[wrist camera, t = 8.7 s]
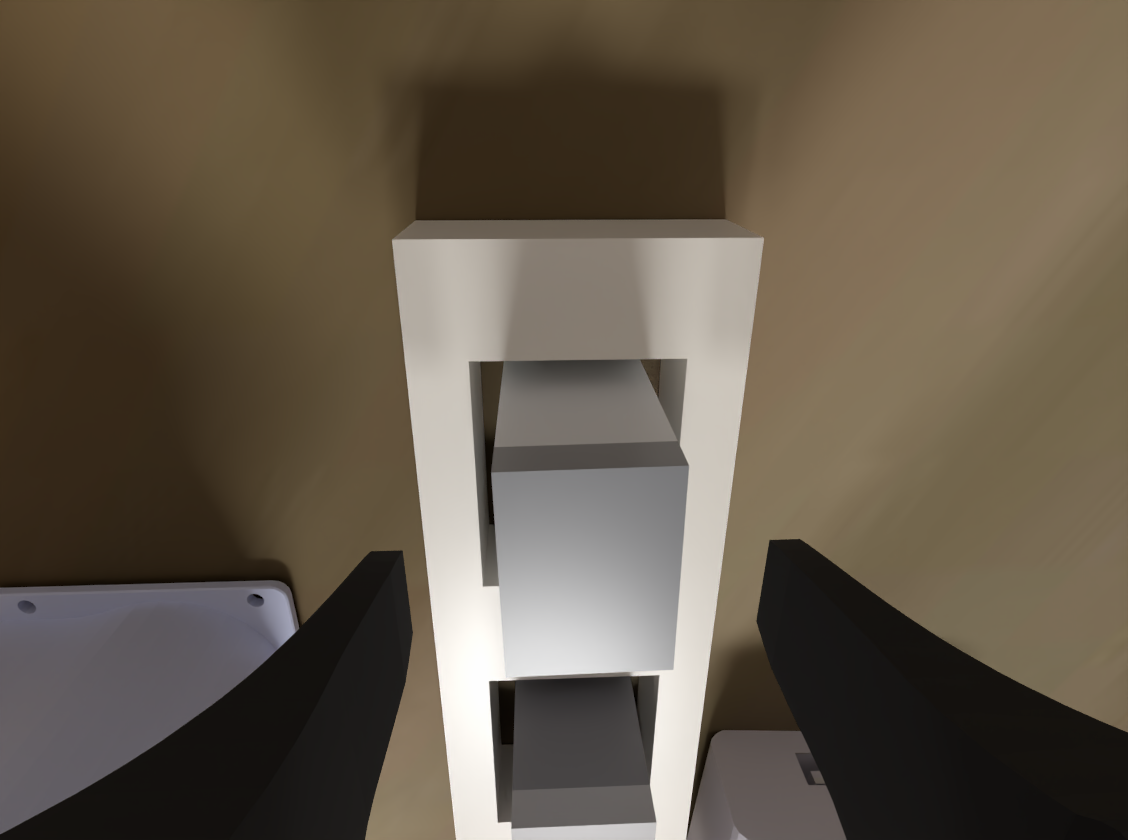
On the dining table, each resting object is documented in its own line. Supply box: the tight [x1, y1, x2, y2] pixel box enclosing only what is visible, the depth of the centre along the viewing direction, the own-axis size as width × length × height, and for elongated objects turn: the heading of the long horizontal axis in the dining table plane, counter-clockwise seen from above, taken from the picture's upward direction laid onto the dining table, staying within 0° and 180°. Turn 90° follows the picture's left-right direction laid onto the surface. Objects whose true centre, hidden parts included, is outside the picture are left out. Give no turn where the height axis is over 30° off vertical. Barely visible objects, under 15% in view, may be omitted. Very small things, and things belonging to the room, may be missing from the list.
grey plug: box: [491, 359, 689, 678], centre depth 16 cm, size 4×5×7 cm
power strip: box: [392, 219, 764, 840], centre depth 19 cm, size 8×22×4 cm, turn 0°
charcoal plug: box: [511, 676, 657, 840], centre depth 20 cm, size 4×5×7 cm
